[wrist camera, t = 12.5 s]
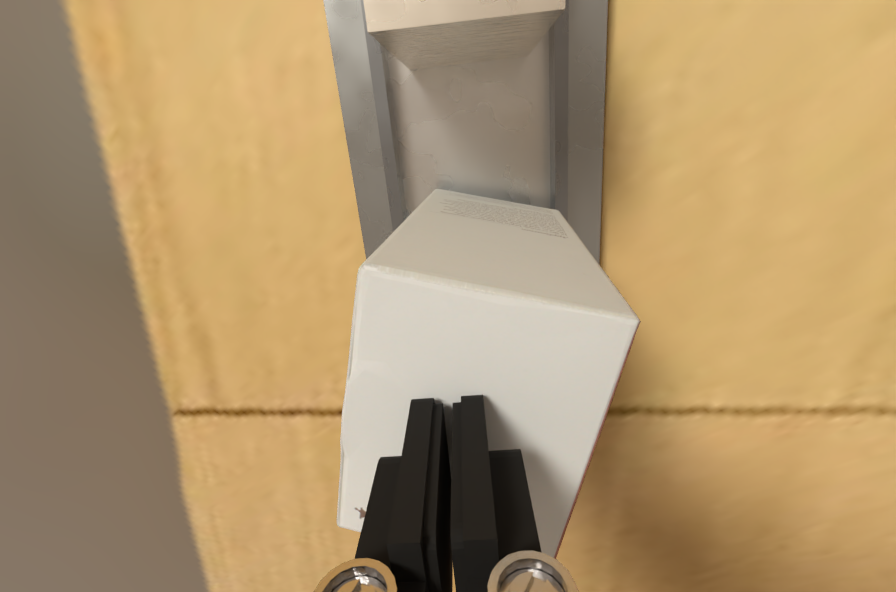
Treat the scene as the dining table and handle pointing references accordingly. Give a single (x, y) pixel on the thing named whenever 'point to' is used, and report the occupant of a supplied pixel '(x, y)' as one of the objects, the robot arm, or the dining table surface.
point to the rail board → (472, 105)
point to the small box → (485, 345)
